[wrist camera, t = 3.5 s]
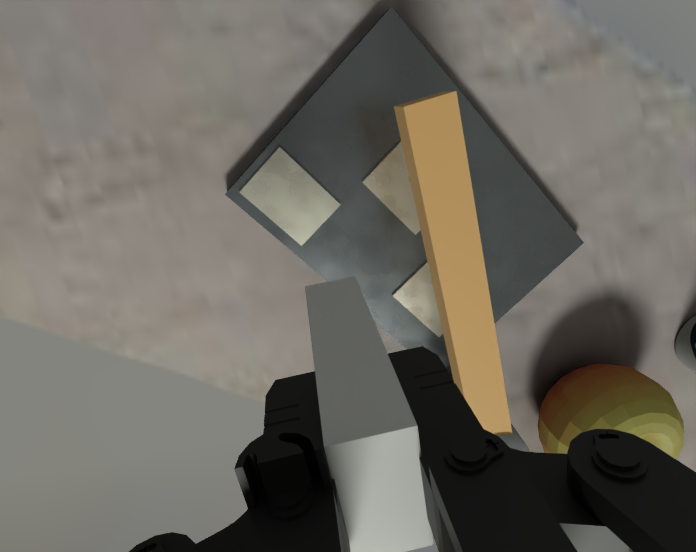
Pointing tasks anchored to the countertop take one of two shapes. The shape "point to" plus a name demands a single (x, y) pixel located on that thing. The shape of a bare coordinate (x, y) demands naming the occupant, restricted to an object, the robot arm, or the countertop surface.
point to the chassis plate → (394, 191)
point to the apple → (609, 408)
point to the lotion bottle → (687, 344)
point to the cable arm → (455, 254)
